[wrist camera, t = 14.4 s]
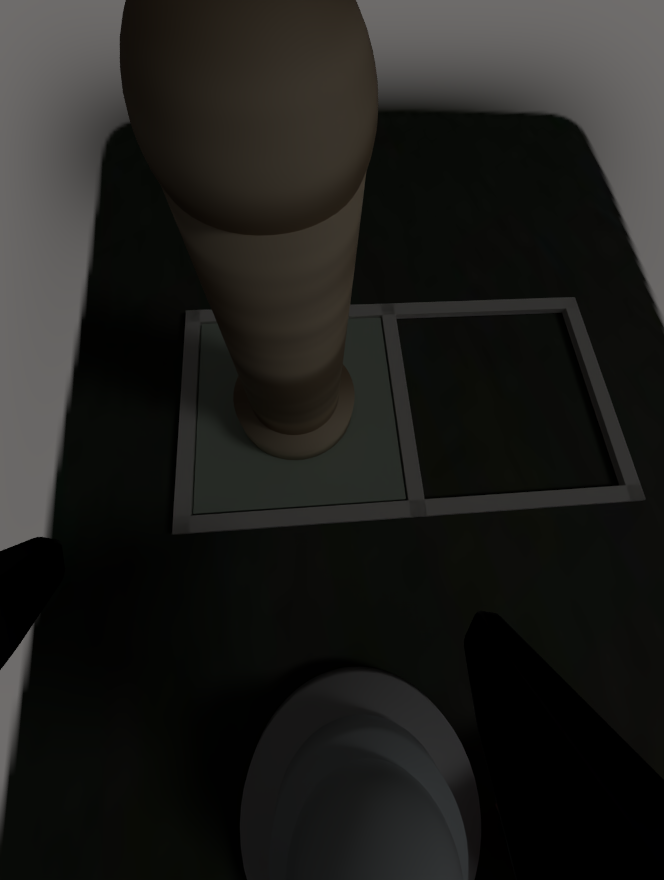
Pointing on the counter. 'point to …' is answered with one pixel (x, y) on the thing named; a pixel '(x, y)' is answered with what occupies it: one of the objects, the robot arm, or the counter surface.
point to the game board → (352, 434)
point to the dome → (366, 809)
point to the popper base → (332, 701)
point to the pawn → (263, 187)
